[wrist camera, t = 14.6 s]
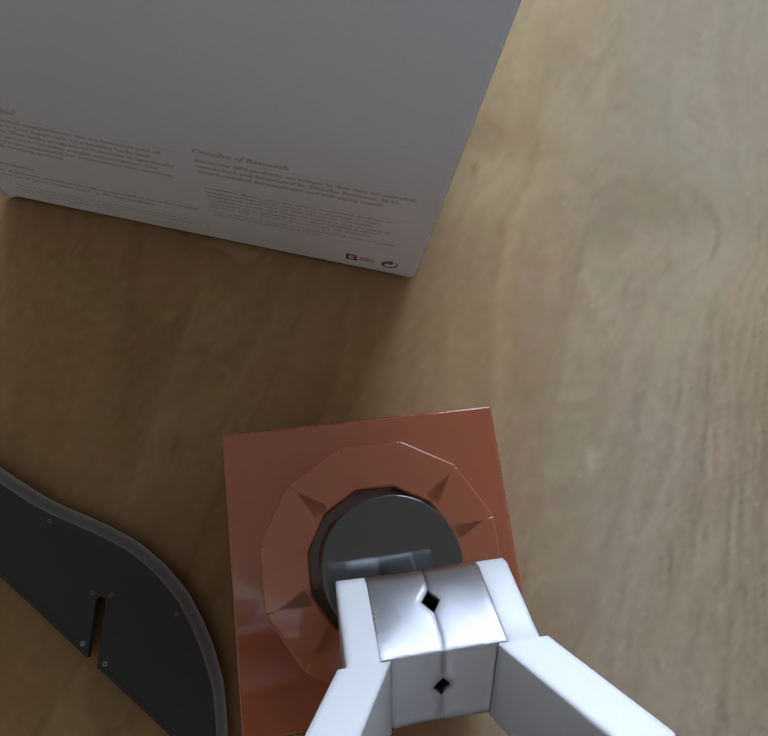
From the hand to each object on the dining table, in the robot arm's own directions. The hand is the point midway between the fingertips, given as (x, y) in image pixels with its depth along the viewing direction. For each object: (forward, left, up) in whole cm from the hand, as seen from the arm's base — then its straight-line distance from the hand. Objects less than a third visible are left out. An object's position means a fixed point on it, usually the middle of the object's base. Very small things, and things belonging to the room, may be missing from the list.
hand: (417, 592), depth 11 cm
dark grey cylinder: (0, 0, -5) cm, 5 cm away
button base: (0, 0, -13) cm, 13 cm away
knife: (+11, +12, -13) cm, 21 cm away
